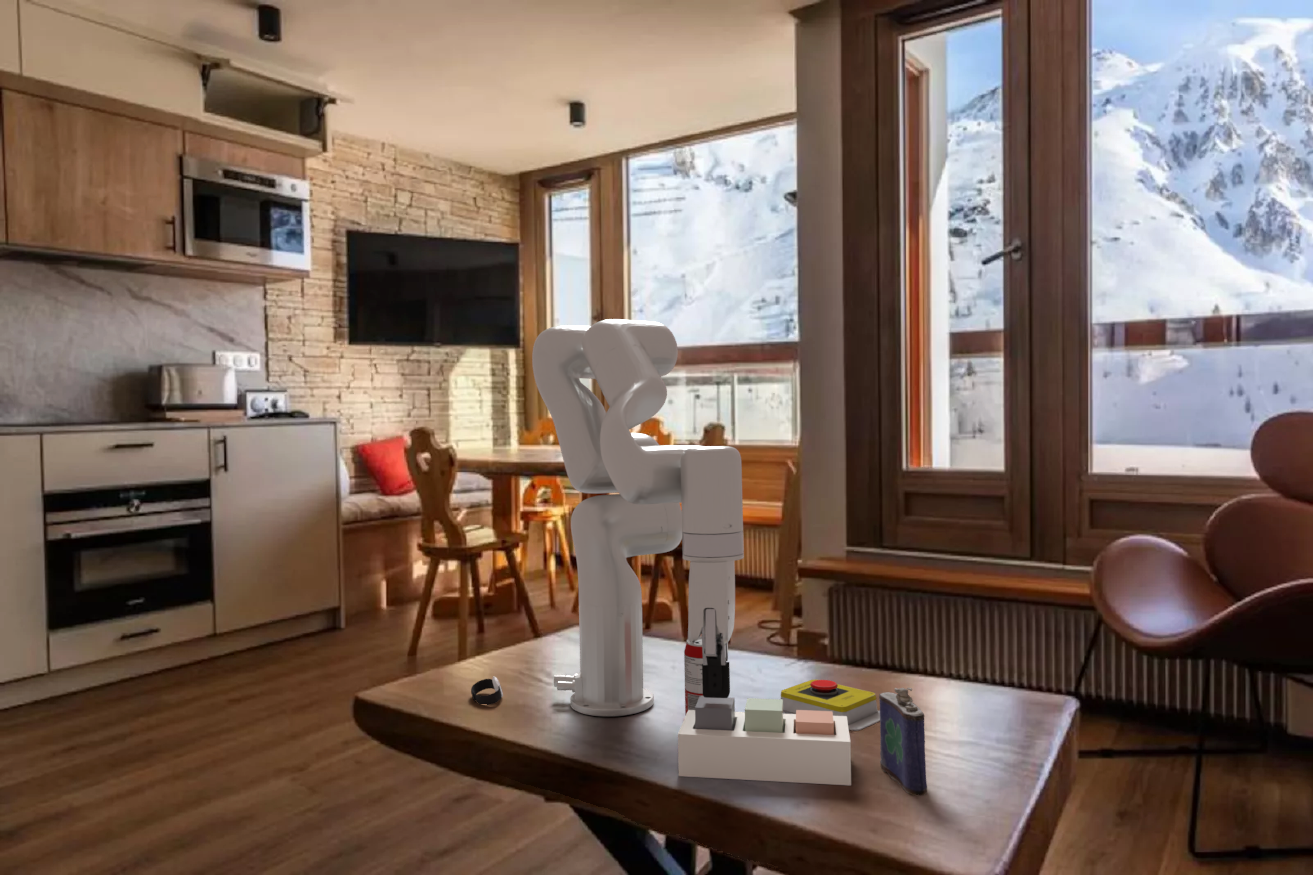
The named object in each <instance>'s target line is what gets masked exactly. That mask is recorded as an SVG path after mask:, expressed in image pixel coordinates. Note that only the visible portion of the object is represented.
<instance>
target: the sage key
mask: <svg viewBox="0 0 1313 875" xmlns="http://www.w3.org/2000/svg"><path fill="white" fill-rule="evenodd" d="M744 712H745V731H753V732H776V733H783V714H784V711H783V699H781V698H780V699H779V698H777V699H776V698H775V699H774V698H753V697H751V698H750V697H747V699H746V703H745V707H744Z"/></svg>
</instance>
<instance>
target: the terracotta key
mask: <svg viewBox="0 0 1313 875" xmlns="http://www.w3.org/2000/svg"><path fill="white" fill-rule="evenodd" d="M796 733H798V734H821V735H834V723H833V712H832V711H812V710H796Z"/></svg>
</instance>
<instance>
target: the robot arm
mask: <svg viewBox="0 0 1313 875" xmlns="http://www.w3.org/2000/svg"><path fill="white" fill-rule="evenodd" d="M531 354H532V359H531V360H532V371H533V377H534V381H535V385H536V387H537V390H538V393H539V394H540V397H541V398H542V400H543V403H544V404H545V406H546V408H547V410H548V411H549V415H550V417H551V418H552V422H553V425H554V428H555V432H556V437H557V440H558V444H559V447H560V452H561V456H562V460H563V464H564V468H565V471H566V475H567V477H568V480H569V482H570V484H571V486H572V488H573V489H575V490H576V491H577V492H580V493H582V494H601V495H595V496H591V497H588V498H586V499H583V500H582V501H581V502H579V503H578V504H577V505H576V506H575V508H574V509H573V512H572V514H571V517H570V529H571V536H572V537H571V538H572V543H573V547H574V552H575V553H574V554H575V559H576V567H577V579H578V618H579V619H578V620H579V621H578V622H579V626H578V627H579V628H578V629H579V630H578V631H579V668H580V669H579V672H576V673H574V675H571V674H570V675H569V674H564V673H563V674H562V673H561V674H559V673H557V674H554V676H553V687H555V688H556V690H557V691H565V692H566V691H571V692H572V693H573V694H571V696H570V698H569V703H570V707H571V708H572V709H573V710H574V711H576V712H578V713H580V714H583V715H587V716H593V717H594V716H595V717H622V716H624V717H625V716H629V715H633V714H638V713H642V712H644V711H646V710H648V709H649V708H651V707H653V705H654V701H655V699H654V693H653V692H652V691H651V690H650V689H647V688H644V657H643V656H644V654H643V652H644V651H643V650H644V648H643V646H644V645H643V643H644V642H643V639H644V638H643V604H642V603H643V599H642V598H643V596H642V595H643V594H642V586H641V583H640V580H639V577H638V576H637V575H636V572H635V571H634V570H633V569H632V567H631V566H630V564H629V563H628V560H627V558H631V557H637V556H645V555H646V556H647V555H655V554H656V555H657V554H663V553H667V552H670V551H671V552H672V551H673V550H675V549H676V548H678V546H679V545H680V543H681V541H682V543H681V544H682V559H683V560H685V561H689V562H690V563H689V574H688V611H687V612H688V618H687V619H688V622H687V623H688V628H687V630H688V631H687V639H688V640H689V642H690V643H691V644H694V643H695V641H697V640H698V639H699V637H702V651H703V664H702V684H703V696H704V697H706V698H728V697H729V696H730V693H731V679H730V678H731V676H730V675H731V674H730V672H731V671H730V661H728V660H729V641H730V639H731V638H732V635H733V632H734V628H735V619H736V618H735V616H736V615H735V614H736V576H735V575H736V573H735V572H736V571H735V568H736V567H735V561H739V560H743V559H744V558H745V556H744V555H745V554H744V550H745V548H744V547H745V546H744V543H745V542H744V516H743V515H744V513H743V512H744V510H743V509H744V507H743V505H744V504H743V472H742V471H743V470H742V469H743V468H742V456H741V453H740V452H739V450H738V449H737V448H735V447H733V446H728V445H727V446H726V445H711V446H710V445H707V446H705V445H700V444H699V445H698V444H680V445H679V444H665V445H664V444H662V445H661V444H659V443H658V442H657V440H655V439H654V438H653V437H652V436H651V435H648V434H646V433H642V432H641V433H640V432H631V431H630V430H631V429H633V428H635V427H637V426H639V425H641V424H644V423H645V422H646V421H648V420H651V418H653V417H655V416H656V414H657V413H658V412H660V410H661V409H662V408H663V407H664V405H665V403H666V400H667V397H668V389H667V386H666V383H665V382H664V380H663V378H662V377H664V376H667V375H669V373H671V372H672V371H673V369H674V368H675V365H676V364H677V360H678V356H679V352H678V344H677V340H676V337H675V336H674V333H673V332H672V331H671V330H670V328H669V327H668V326H666V325H665V324H664V323H660V322H659V321H651V320H650V321H649V320H635V319H621V318H613V319H612V318H609V319H608V318H607V319H604V320H603V319H602V320H600V321H597V322H595V323H593V324H592V325H591V326H590V325H576V324H575V325H572V324H570V325H568V324H567V325H565V324H564V325H557V326H552V327H548V328H546V329H544V330H543V331H541V332H540V333H539V334H538V336H537V337H536V339H535V341H534V343H533V348H532V353H531ZM580 379H591V380H592V379H594V380H596V382H597V385H598V387H599V389H600V391H601V392H602V395H603V396H604V398H605V401H606V402H607V405H608V406H609V408H608V409H607V411H606V409H605V406H604V405H603V403H602V402H601V400H600V399H599V398H598V397H597V395H595V393H594V392H592V390H590V389H589V388H588V387H587V386H586V385H584V383H582V382H581V380H580ZM613 493H616V494H613ZM680 504H681V505H680ZM729 698H730V697H729Z"/></svg>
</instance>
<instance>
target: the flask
mask: <svg viewBox="0 0 1313 875" xmlns="http://www.w3.org/2000/svg"><path fill="white" fill-rule="evenodd" d="M909 691H910V692H912V691H913V688H911V687H906V688H904V687H900V688H897V687H894V692H895V693H894V692H892V691H891V692H889V691H888V692H881V693H879V695H878V697H879V698H878V699H879V711H880V721H879V724H880V727H879V729H880V731H879V732H880V740H879V741H880V752H879V754H880V761H879V762H880V763H879V764H880V767H881V769H882V771H883V772H886V773H887V774H888V775H889V777H890V779H891V780H893V781H895V782H897V785H899V786H902V789H903V790H904V791H905V793H907V794H909V795H913V796H925V795H927V794H928V785H927V771H926V770H927V769H926V766H927V764H926V750H925V749H926V745H925V744H926V742H925V740H926V738H925V737H926V734H925V713H924V712H923V711H922V710H921V708H920V707H919V706H918V705H917V704H915V703H914V700H913V698H912V696H910V694H909Z"/></svg>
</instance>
